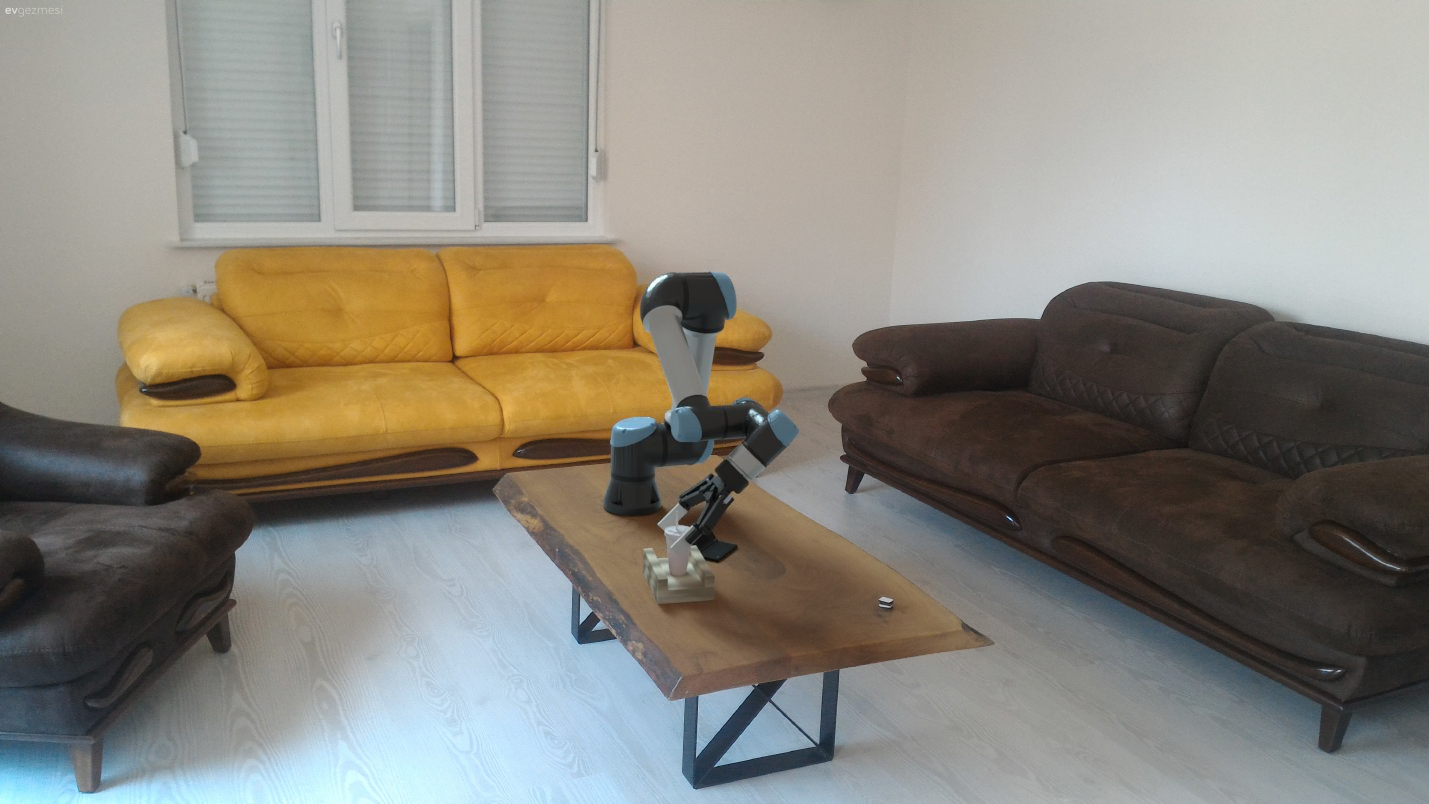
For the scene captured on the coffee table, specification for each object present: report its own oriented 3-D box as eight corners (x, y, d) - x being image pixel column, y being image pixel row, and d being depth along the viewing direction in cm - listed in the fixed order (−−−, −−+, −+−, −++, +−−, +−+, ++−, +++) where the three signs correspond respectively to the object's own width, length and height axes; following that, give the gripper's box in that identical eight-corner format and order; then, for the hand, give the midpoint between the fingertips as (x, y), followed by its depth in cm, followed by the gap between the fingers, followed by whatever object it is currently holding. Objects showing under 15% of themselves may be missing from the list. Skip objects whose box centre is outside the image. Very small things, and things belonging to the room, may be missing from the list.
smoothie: (662, 566, 223) (664, 505, 220) (691, 566, 224) (694, 506, 220) (663, 578, 217) (665, 516, 213) (693, 578, 217) (695, 516, 214)
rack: (642, 571, 227) (643, 548, 226) (695, 568, 230) (695, 545, 229) (657, 604, 211) (658, 579, 210) (713, 599, 214) (714, 575, 213)
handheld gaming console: (726, 557, 233) (704, 520, 234) (701, 572, 235) (679, 535, 236) (740, 547, 244) (719, 511, 245) (716, 561, 246) (695, 525, 247)
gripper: (767, 500, 208) (693, 573, 207) (734, 463, 231) (668, 529, 231) (743, 476, 205) (668, 550, 205) (712, 442, 228) (645, 508, 228)
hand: (668, 539), depth 218 cm, fingers open, 13 cm apart
